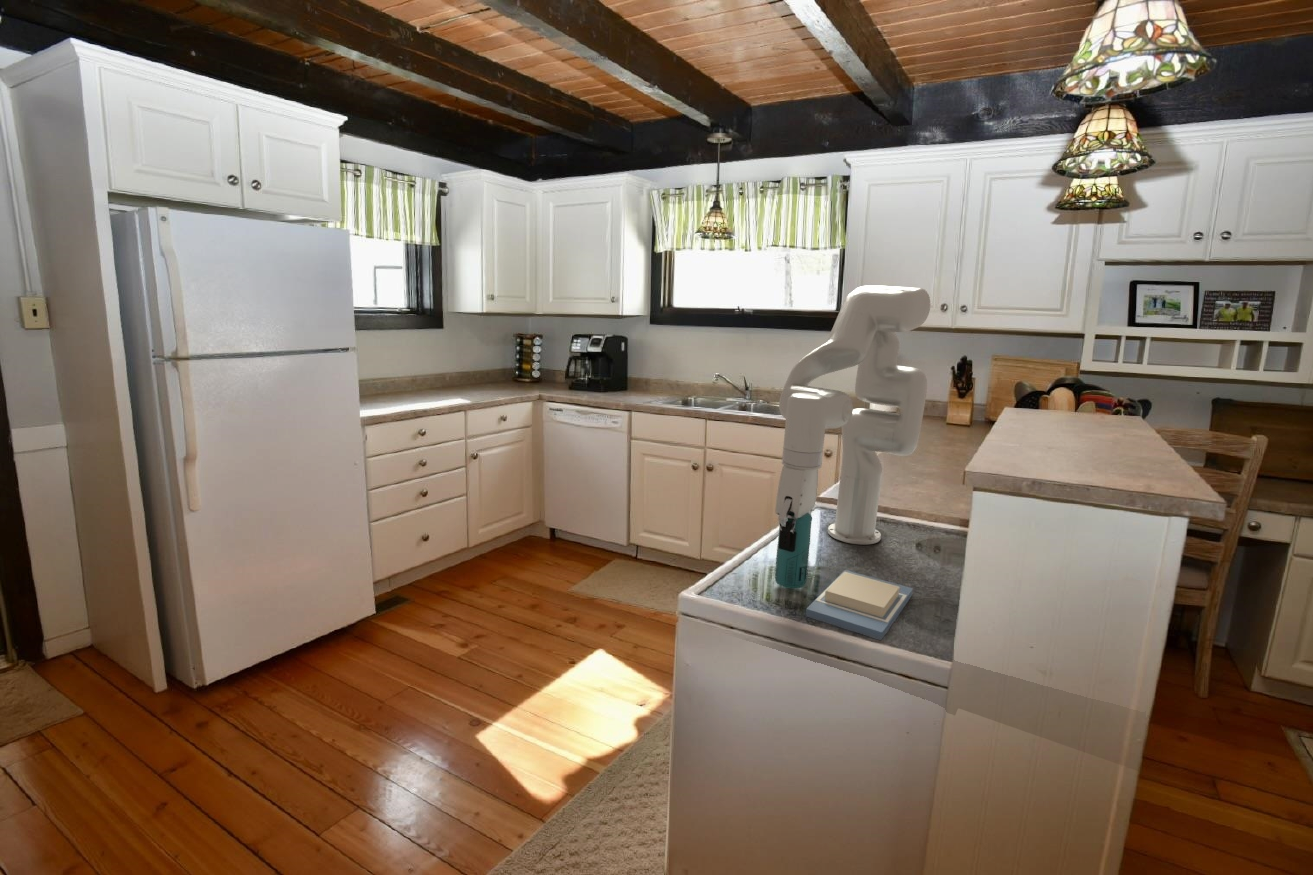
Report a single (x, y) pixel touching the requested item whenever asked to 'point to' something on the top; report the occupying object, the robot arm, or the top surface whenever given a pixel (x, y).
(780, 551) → the beverage bottle
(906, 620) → the top surface
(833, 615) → the board
